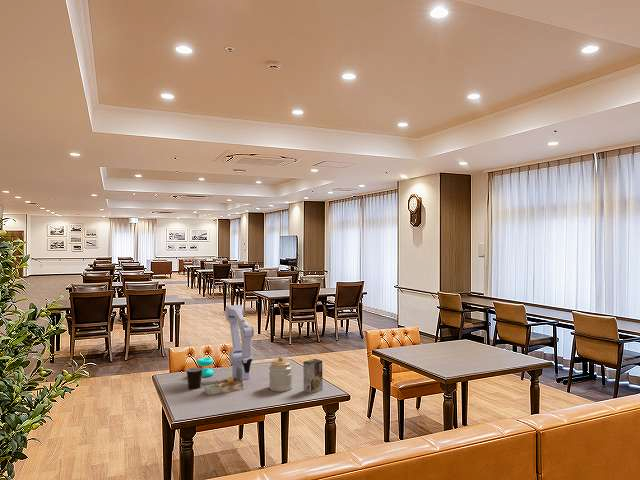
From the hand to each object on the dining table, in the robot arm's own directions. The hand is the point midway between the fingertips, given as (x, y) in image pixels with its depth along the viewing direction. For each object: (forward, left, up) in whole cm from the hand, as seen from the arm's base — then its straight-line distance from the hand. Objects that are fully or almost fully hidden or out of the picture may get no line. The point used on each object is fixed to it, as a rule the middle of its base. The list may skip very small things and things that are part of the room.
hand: (247, 372), depth 261 cm
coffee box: (-27, +28, -8) cm, 39 cm away
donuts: (+12, -33, -8) cm, 36 cm away
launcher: (+11, 0, -7) cm, 13 cm away
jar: (-14, +15, -8) cm, 22 cm away
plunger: (+6, 0, -4) cm, 7 cm away
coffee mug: (+25, -15, -8) cm, 30 cm away
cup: (+20, 0, -8) cm, 21 cm away
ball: (+10, 0, -3) cm, 10 cm away
